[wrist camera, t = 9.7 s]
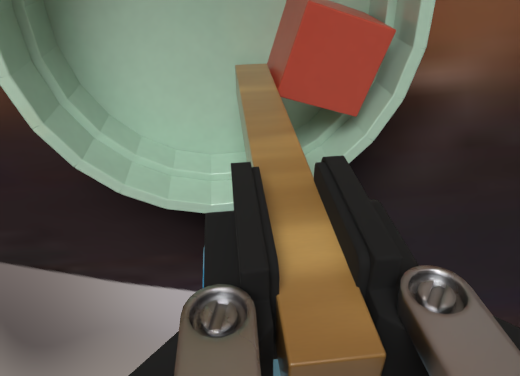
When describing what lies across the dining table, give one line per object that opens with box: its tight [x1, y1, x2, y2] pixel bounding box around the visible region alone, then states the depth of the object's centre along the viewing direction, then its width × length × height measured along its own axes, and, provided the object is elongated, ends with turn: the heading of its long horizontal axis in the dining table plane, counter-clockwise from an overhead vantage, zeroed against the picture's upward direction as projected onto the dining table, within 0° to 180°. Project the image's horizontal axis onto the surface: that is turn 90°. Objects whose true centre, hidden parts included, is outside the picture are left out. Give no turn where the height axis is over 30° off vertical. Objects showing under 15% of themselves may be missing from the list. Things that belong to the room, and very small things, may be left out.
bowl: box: [0, 0, 435, 213], centre depth 17 cm, size 17×17×5 cm
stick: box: [235, 63, 386, 376], centre depth 13 cm, size 2×2×16 cm
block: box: [267, 0, 396, 117], centre depth 18 cm, size 4×4×4 cm
